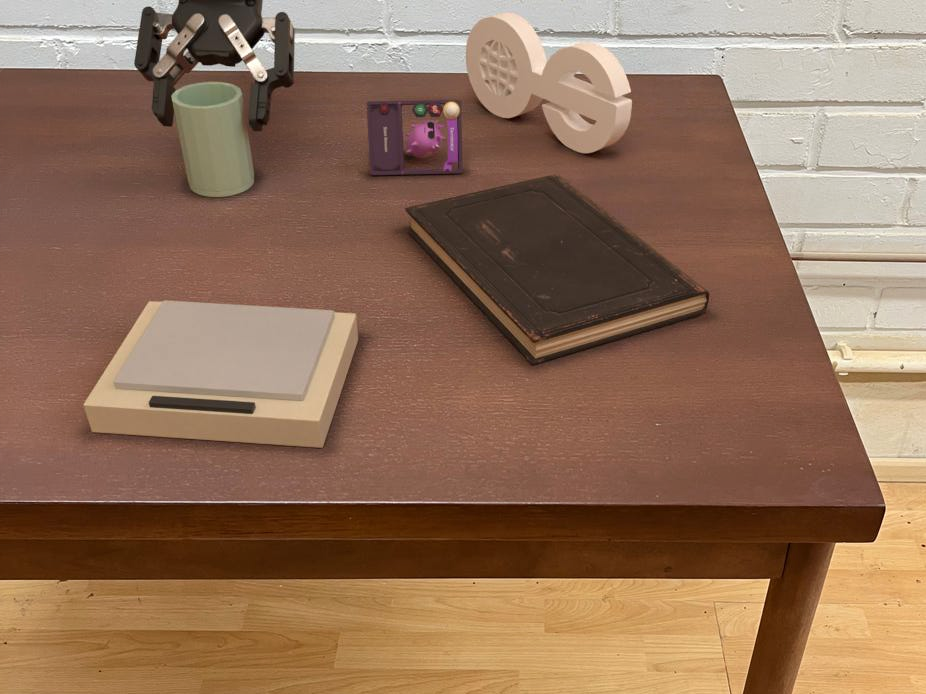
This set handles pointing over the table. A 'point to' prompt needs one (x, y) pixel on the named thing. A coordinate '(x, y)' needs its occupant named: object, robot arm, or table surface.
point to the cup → (214, 138)
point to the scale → (226, 374)
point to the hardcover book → (553, 267)
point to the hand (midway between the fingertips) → (209, 125)
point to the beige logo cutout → (548, 82)
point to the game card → (412, 135)
